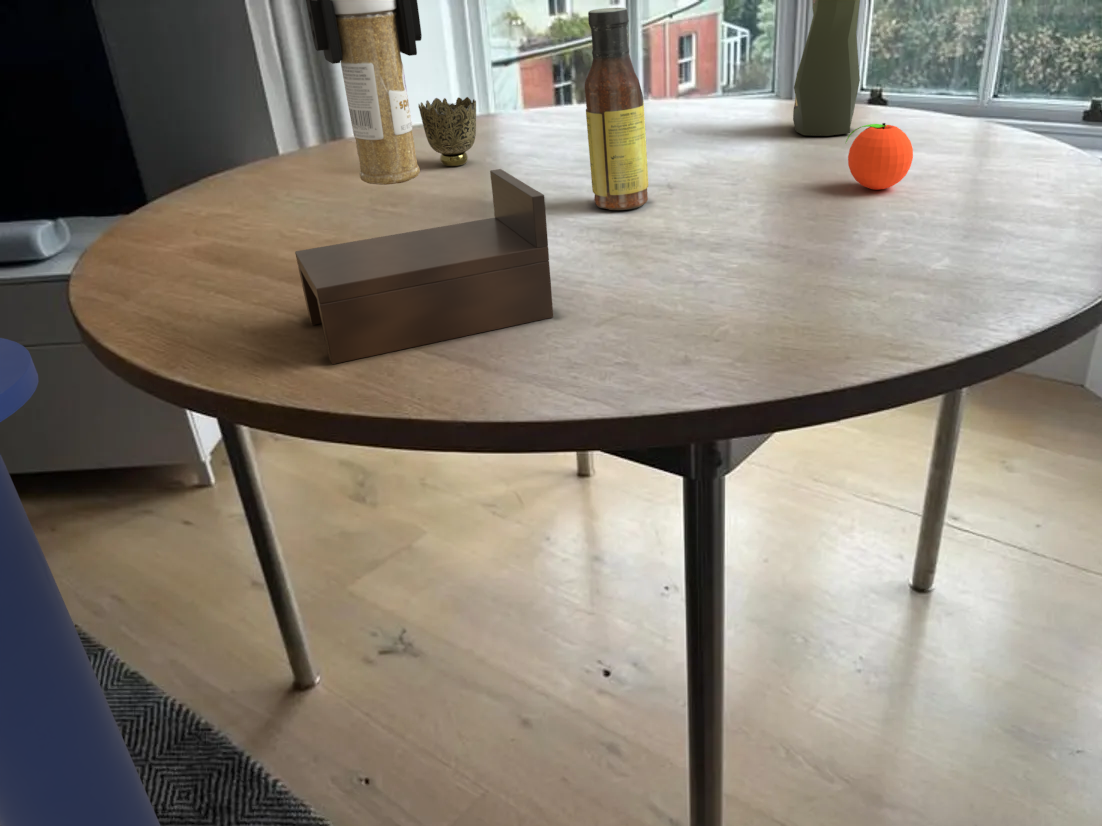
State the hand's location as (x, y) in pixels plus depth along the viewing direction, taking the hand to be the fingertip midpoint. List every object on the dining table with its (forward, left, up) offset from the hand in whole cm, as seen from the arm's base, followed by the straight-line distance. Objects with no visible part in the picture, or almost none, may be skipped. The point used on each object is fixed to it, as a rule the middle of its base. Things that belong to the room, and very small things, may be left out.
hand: (370, 54), depth 66 cm
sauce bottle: (+29, +22, -21) cm, 42 cm away
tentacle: (+69, +39, -21) cm, 82 cm away
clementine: (+56, +12, -21) cm, 61 cm away
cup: (+19, +52, -21) cm, 59 cm away
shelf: (+1, 0, -20) cm, 21 cm away
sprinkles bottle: (0, 0, -9) cm, 9 cm away
